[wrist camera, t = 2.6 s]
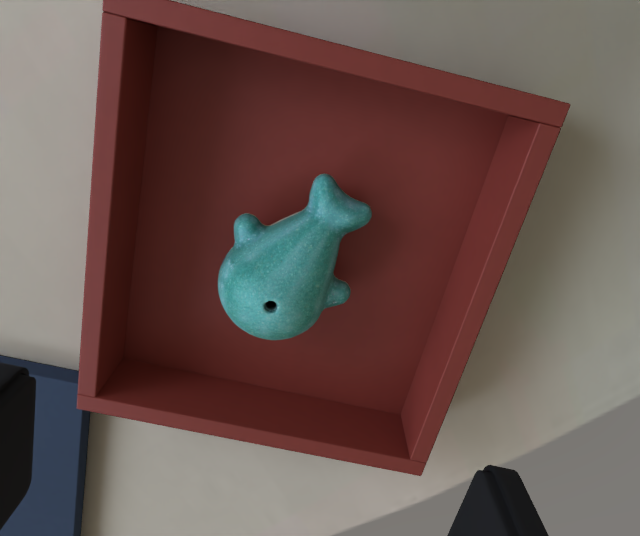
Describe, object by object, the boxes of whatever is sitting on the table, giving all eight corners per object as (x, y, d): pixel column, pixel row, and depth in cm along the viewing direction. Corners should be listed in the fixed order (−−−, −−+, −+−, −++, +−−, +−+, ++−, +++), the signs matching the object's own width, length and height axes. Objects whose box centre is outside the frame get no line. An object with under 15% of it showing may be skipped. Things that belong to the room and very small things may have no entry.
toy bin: (142, -2, 19) (103, -18, 16) (531, 98, 20) (571, 104, 17) (108, 364, 25) (75, 409, 22) (409, 425, 26) (421, 476, 23)
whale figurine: (195, 268, 22) (170, 305, 19) (297, 140, 20) (291, 155, 17) (296, 341, 24) (291, 388, 20) (401, 228, 22) (416, 259, 18)
